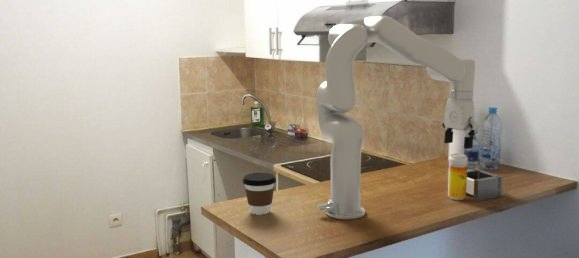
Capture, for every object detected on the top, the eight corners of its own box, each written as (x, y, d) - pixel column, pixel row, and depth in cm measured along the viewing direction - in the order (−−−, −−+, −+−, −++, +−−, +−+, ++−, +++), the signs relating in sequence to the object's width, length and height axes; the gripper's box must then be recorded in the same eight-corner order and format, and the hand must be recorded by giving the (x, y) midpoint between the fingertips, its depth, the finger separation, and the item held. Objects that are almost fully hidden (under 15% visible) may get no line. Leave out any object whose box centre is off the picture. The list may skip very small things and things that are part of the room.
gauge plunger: (474, 195, 191) (475, 174, 190) (455, 188, 200) (456, 168, 199) (486, 193, 194) (487, 172, 192) (467, 186, 202) (468, 166, 201)
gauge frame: (477, 201, 189) (478, 180, 188) (453, 191, 200) (454, 171, 198) (501, 196, 194) (502, 175, 192) (476, 187, 204) (477, 168, 203)
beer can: (466, 200, 189) (468, 158, 187) (448, 200, 191) (450, 157, 188) (464, 195, 195) (466, 154, 192) (447, 194, 196) (448, 153, 194)
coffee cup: (239, 209, 185) (238, 174, 183) (270, 204, 189) (269, 170, 187) (249, 219, 175) (248, 182, 173) (281, 214, 179) (281, 178, 177)
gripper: (435, 93, 192) (432, 141, 195) (470, 99, 177) (467, 151, 180) (452, 92, 196) (449, 140, 199) (488, 98, 180) (485, 149, 183)
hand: (458, 145), depth 189 cm, fingers open, 9 cm apart
